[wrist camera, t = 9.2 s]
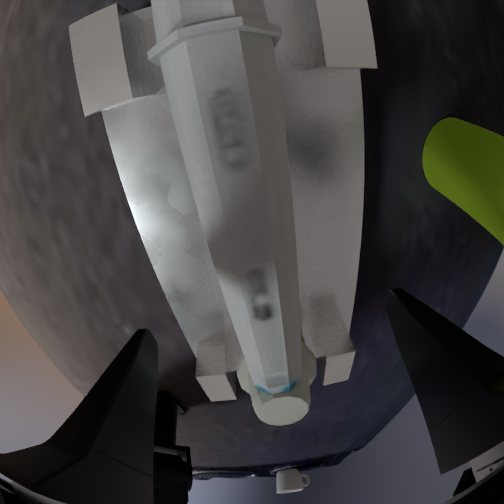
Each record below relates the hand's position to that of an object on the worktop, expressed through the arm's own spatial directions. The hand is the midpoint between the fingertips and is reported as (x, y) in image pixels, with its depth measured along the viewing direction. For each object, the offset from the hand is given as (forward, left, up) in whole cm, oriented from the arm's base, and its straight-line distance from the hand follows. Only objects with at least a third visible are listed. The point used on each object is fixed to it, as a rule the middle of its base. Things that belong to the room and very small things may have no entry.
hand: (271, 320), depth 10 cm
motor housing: (+3, 0, -9) cm, 9 cm away
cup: (-85, 0, -9) cm, 86 cm away
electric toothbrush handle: (0, 0, -6) cm, 6 cm away
